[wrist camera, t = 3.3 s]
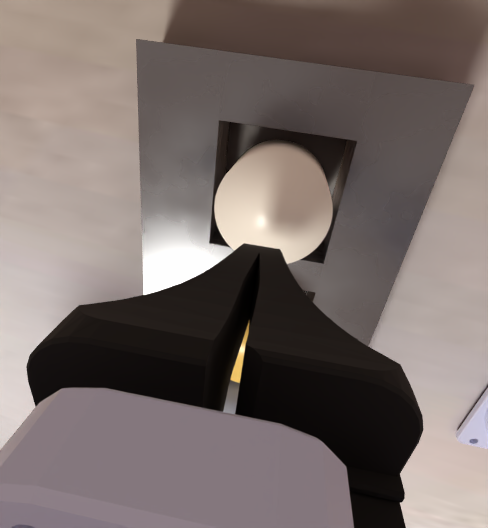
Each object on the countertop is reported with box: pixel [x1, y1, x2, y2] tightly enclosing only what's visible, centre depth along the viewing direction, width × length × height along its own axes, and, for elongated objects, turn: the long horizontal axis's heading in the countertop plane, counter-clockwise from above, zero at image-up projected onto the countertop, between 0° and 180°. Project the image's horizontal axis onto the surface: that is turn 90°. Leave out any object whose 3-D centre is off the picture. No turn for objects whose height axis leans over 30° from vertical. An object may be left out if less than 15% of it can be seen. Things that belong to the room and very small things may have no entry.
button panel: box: [136, 39, 474, 346], centre depth 19 cm, size 12×24×2 cm, turn 173°
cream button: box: [214, 140, 333, 264], centre depth 14 cm, size 4×4×3 cm
